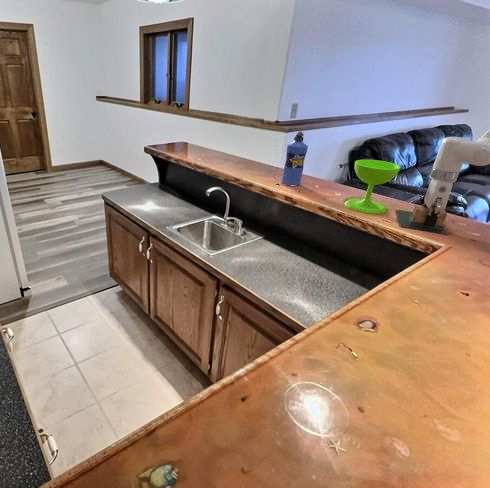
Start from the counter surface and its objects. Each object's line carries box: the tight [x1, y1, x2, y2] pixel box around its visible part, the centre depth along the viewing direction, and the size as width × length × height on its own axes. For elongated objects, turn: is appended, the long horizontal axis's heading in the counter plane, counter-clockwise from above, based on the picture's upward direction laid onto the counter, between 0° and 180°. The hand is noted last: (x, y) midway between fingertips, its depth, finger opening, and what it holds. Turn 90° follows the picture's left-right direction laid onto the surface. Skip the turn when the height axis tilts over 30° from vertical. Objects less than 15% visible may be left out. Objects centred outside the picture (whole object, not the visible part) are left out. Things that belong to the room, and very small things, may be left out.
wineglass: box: [343, 159, 402, 215], centre depth 142 cm, size 16×16×18 cm
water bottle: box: [281, 131, 309, 186], centre depth 170 cm, size 9×9×25 cm
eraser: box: [408, 205, 448, 230], centre depth 126 cm, size 10×6×6 cm, turn 64°
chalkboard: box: [395, 209, 449, 236], centre depth 131 cm, size 14×20×1 cm
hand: (426, 221), depth 126 cm, fingers open, 9 cm apart
